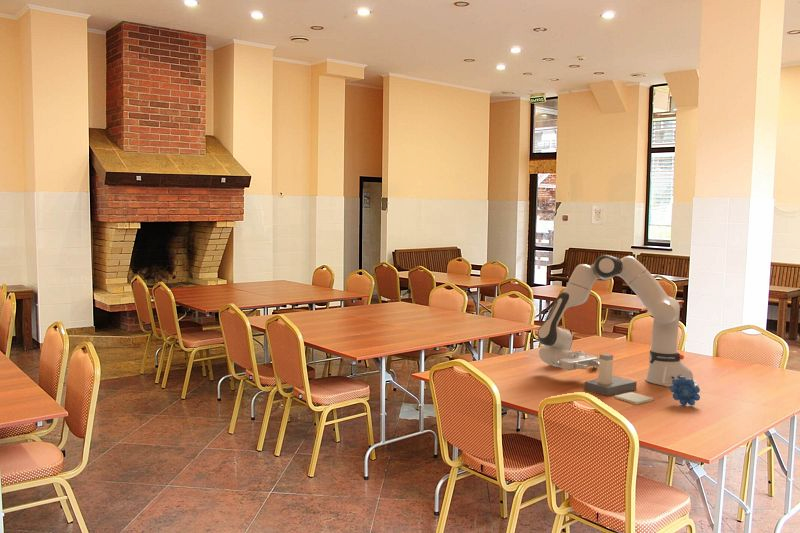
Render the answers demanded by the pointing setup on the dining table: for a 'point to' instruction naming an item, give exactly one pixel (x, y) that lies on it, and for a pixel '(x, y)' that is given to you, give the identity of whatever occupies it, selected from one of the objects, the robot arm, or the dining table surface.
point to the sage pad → (634, 398)
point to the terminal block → (611, 386)
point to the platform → (598, 361)
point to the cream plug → (605, 369)
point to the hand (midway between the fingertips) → (592, 366)
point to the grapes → (685, 391)
